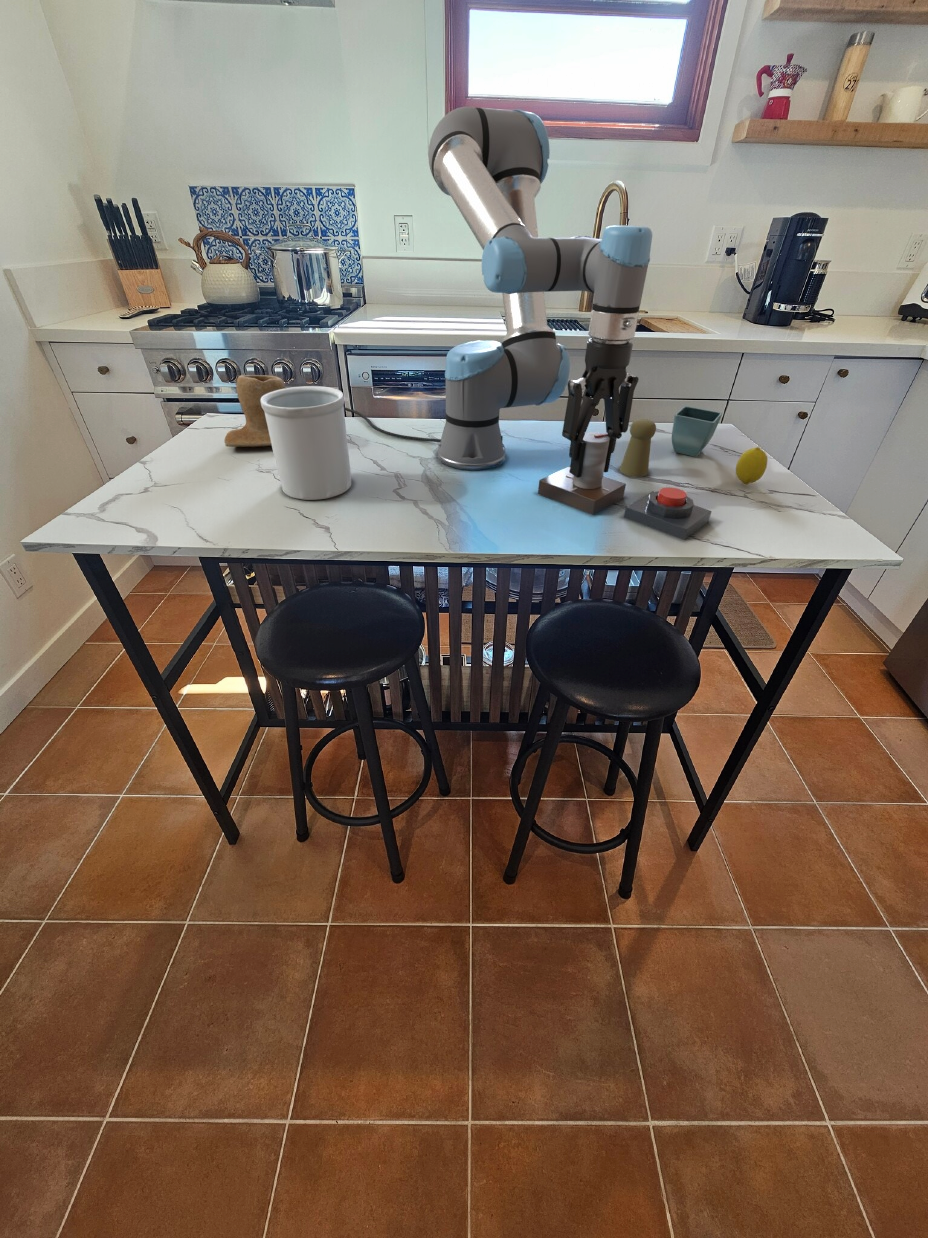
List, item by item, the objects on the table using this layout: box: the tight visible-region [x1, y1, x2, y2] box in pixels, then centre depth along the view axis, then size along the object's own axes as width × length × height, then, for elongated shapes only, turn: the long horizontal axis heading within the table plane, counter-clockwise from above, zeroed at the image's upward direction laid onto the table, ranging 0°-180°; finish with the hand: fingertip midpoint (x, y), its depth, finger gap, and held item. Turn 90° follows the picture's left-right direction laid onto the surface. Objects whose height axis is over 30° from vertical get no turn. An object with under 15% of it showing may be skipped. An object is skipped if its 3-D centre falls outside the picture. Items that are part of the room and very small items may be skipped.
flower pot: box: [671, 405, 723, 458], centre depth 127 cm, size 9×9×9 cm
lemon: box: [735, 446, 768, 486], centre depth 113 cm, size 6×6×8 cm
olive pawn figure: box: [619, 418, 657, 478], centre depth 116 cm, size 6×6×11 cm
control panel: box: [537, 465, 627, 516], centre depth 108 cm, size 13×11×3 cm
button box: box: [623, 490, 712, 541], centre depth 101 cm, size 12×10×4 cm
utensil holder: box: [260, 385, 352, 501], centre depth 105 cm, size 15×15×18 cm
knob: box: [572, 431, 610, 489], centre depth 104 cm, size 6×6×9 cm
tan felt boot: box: [223, 374, 286, 448], centre depth 125 cm, size 15×12×15 cm
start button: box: [657, 486, 688, 507], centre depth 99 cm, size 5×5×2 cm
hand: (588, 471), depth 105 cm, fingers closed on knob, 6 cm apart
